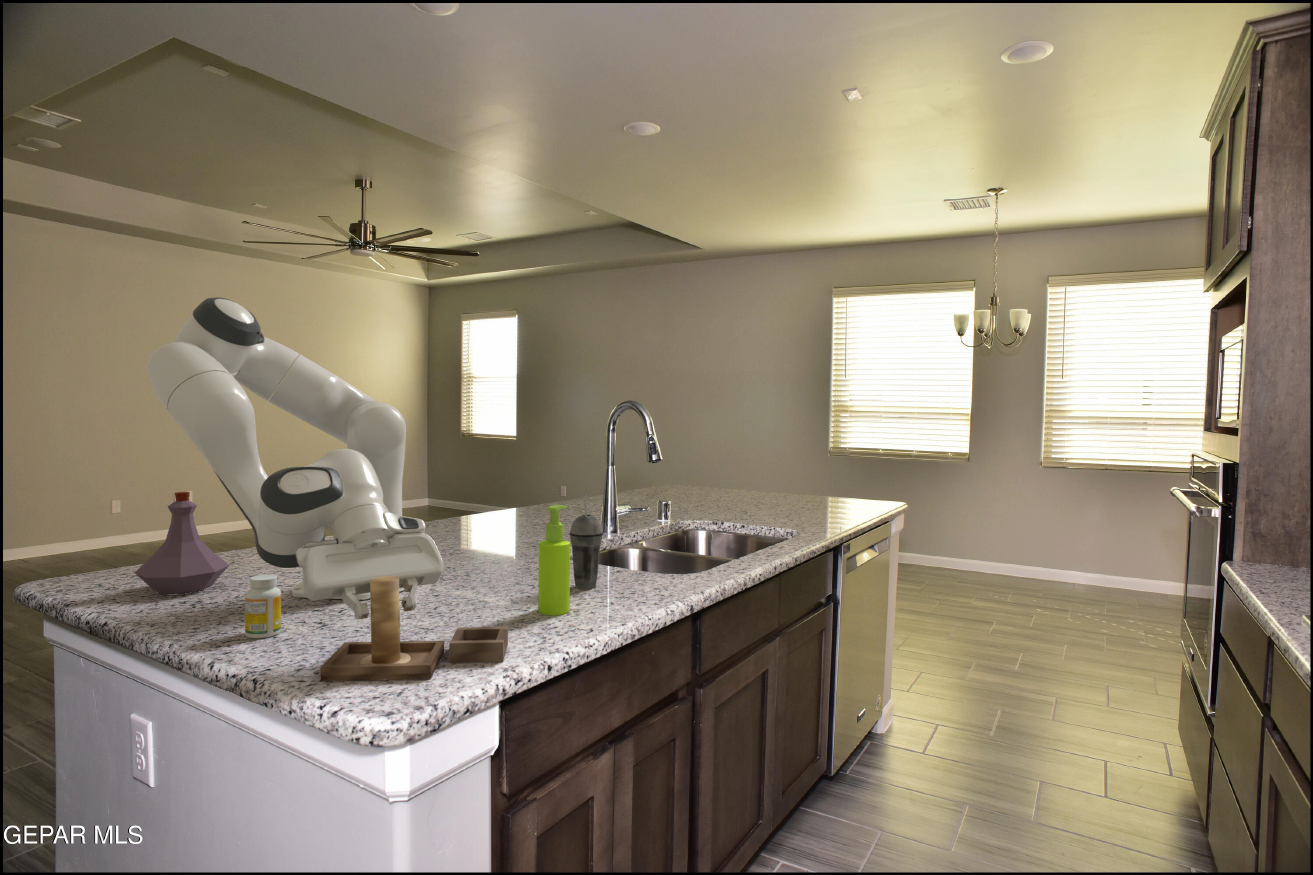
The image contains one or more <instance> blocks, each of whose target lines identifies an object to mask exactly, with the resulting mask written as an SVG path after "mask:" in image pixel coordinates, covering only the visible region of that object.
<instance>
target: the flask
mask: <svg viewBox="0 0 1313 875" xmlns="http://www.w3.org/2000/svg"><path fill="white" fill-rule="evenodd" d="M174 497H175V501H173V502H172V503H171V504H169V505H167V509H168V510H169V512H170V514H171V520H170V525H169V528H168V532H167V535H166V538H165V541H164V542H163V543H162V544H161V546H159V548H158V549H157V550H156V551H155V553H153V555H151V556H150V558H148V559H146V561H145V562H144V563H143V564H142V565H140V567H139V568H137V570H135V572H134V574H135V575H136V576H137V577H138V578H139V579H140V580H142V582H144V583H145V584H146V585H147V586H148V587H149V588H151V589H152V590H153V591H154V592H155V591H156V592H155V593H157V592H158V593H157V594H159V593H160V595H161V594H184V595H186V594H185V593H190V592H196V591H202V590H204V589H206V588H208V587H209V588H211V587H212V586H213V585H214V583H215V582H216V581H217V580H218V579H219V577H221V576H222V574H223V573H224V572H226V570H227V568H229V567H230V564H229V563H227V561H225V560H224V559H223V558H221V557H220V556H219V555H218V554H216V553H215V552H214V551H213V550H212V549H211V548H209V546H208V545H206V543H205V542H203V540H202V539H201V537H200V535H199V532H198V529H197V527H196V523H195V520H194V519H195V518H194V512H195V510H196V508H197V506H198V505H197V504H196V503H194V502H192V501H191V500H190V491H176V492H174ZM210 586H211V587H210ZM209 588H208V589H209ZM206 590H207V589H206ZM204 591H205V590H204ZM202 592H203V591H202ZM196 593H197V592H196ZM190 594H191V593H190Z"/></svg>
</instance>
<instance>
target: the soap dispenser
mask: <svg viewBox="0 0 1313 875" xmlns="http://www.w3.org/2000/svg"><path fill="white" fill-rule="evenodd" d="M563 509H566V510H568V509H569V506H568V505H563V504H553V505H550V506H548V507H546V511H547V512H549V513H550V517H549V518H550V520H549V522H548V523H546V524H545V540H541V541H539V542H538V576H537V577H538V584H537V585H538V589H537V591H538V594H537V602H538V604H537V608H538V609H537V612H538V613H539V614H541V615H545V616H561V615H565V614H567V613H569V612H570V600H571V599H570V591H571V590H570V589H571V588H570V587H571V585H570V584H571V541H568V540H564V538H565V535H564V530H565V528H564V525H565V524H564V523H562V522H561V521H560V510H563Z"/></svg>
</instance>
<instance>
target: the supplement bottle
mask: <svg viewBox="0 0 1313 875" xmlns="http://www.w3.org/2000/svg"><path fill="white" fill-rule="evenodd" d="M277 584H278V576H277V575H275V574H257V575H254V576H251V577H250V578H249V586H250V589H249V590H248V591H247V592H246V593H245V596H244V599H245V600H244V635H245V636H246V637H247V638H248V639H267V638H271V637H274V636H276V635H278V634H279V633H281V631H282V591H281V589H280V588H279V587H276V586H277Z"/></svg>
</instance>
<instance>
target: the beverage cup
mask: <svg viewBox="0 0 1313 875" xmlns="http://www.w3.org/2000/svg"><path fill="white" fill-rule="evenodd" d="M568 534H569V539H570V545H571V552H572V554H571V555H572V566H573V578H574V579H573V580H574V584H575V585H574V588H575V589H579V590H593V589H596V588H597V583H598V582H597V580H598V573H599V572H598V571H599V562H600V553H601V552H600V551H601V544H602V540H603V535H604V532H603V526H602V524H601V522H600V520H599V519H598V518H597V517H595V516H594V515H592V514H588V495H587V494H584V514H582V515H580V516H578V517H576V518H575V519H574V520H573V521H572V523H571V526H570V529H569V533H568Z"/></svg>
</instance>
